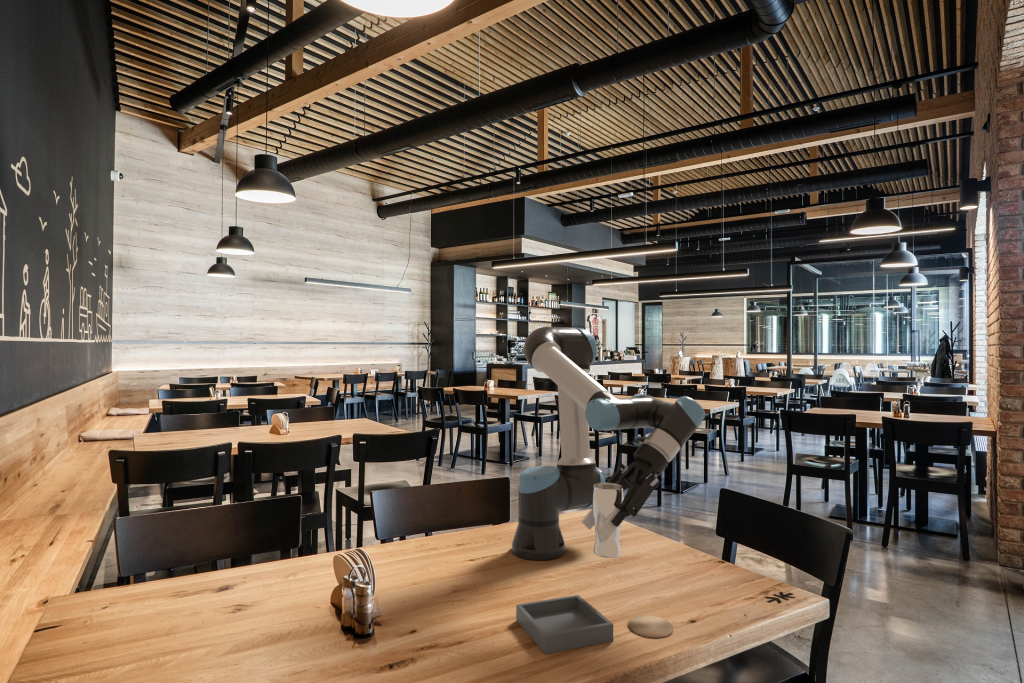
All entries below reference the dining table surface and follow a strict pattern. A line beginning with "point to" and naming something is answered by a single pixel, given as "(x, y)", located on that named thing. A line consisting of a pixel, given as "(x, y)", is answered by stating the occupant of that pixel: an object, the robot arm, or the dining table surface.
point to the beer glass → (602, 507)
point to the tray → (563, 623)
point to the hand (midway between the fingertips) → (593, 530)
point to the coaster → (650, 626)
